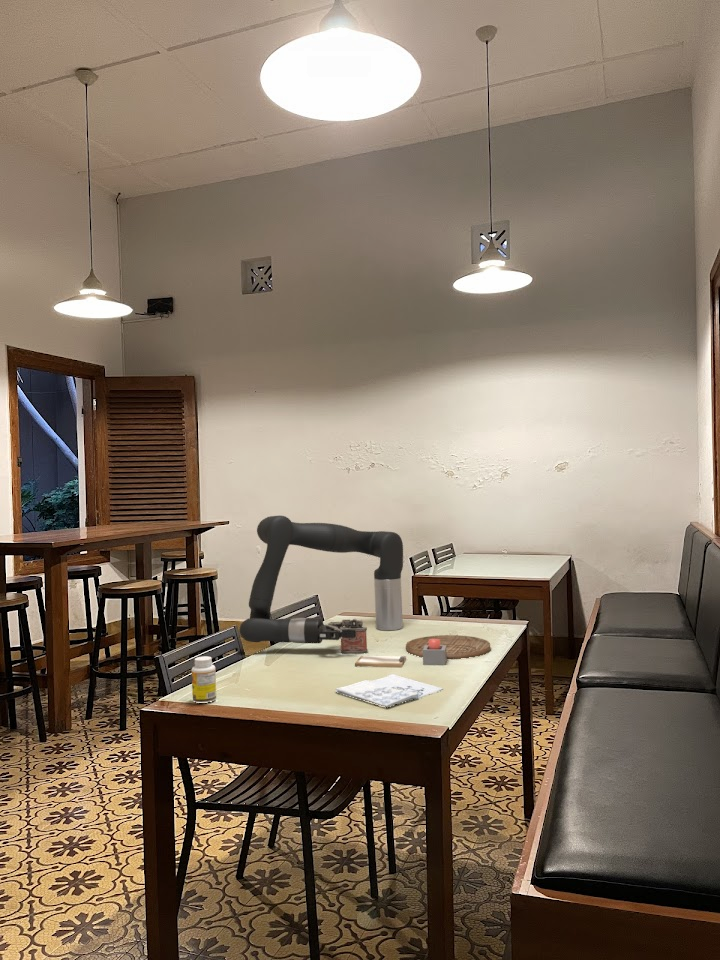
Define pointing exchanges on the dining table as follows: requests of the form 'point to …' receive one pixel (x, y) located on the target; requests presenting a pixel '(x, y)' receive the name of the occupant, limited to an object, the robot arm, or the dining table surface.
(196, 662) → the supplement bottle
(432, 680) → the dining table surface
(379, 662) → the clipboard
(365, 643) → the lighter
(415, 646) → the trivet
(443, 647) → the button box
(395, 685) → the folded patterned cloth
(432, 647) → the button
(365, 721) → the dining table surface
